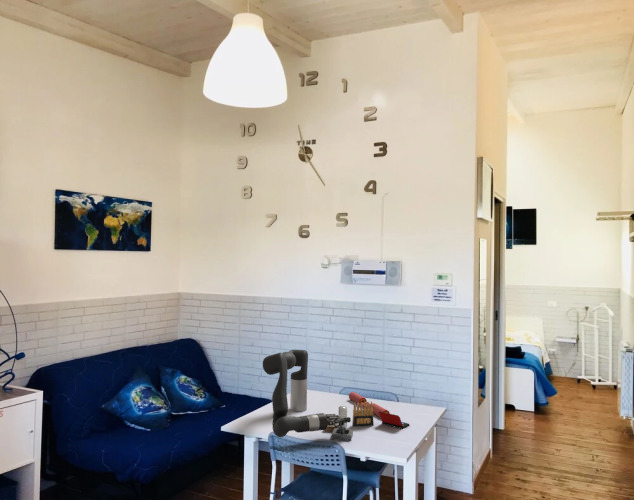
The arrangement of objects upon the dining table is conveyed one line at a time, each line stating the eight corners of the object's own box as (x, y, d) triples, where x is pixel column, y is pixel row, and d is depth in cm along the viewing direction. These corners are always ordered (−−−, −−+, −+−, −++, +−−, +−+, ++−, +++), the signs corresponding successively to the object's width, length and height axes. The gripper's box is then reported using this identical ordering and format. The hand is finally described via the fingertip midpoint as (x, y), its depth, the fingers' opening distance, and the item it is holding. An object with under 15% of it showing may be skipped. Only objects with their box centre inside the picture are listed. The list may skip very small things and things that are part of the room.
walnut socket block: (327, 425, 273) (327, 420, 273) (345, 427, 271) (345, 422, 271) (324, 431, 264) (324, 426, 264) (343, 432, 262) (343, 427, 262)
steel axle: (338, 435, 258) (339, 405, 258) (347, 435, 258) (347, 406, 258) (337, 438, 254) (338, 408, 255) (346, 438, 254) (346, 408, 254)
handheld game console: (410, 426, 275) (410, 411, 275) (398, 431, 267) (399, 415, 267) (389, 421, 283) (389, 406, 283) (377, 425, 275) (378, 411, 275)
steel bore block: (334, 433, 261) (334, 428, 261) (352, 434, 260) (353, 429, 260) (331, 439, 252) (331, 434, 252) (350, 440, 251) (351, 435, 251)
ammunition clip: (353, 426, 272) (353, 402, 272) (352, 425, 274) (352, 401, 274) (373, 425, 274) (373, 401, 275) (372, 424, 276) (372, 400, 276)
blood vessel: (389, 419, 287) (390, 409, 287) (381, 420, 285) (381, 410, 285) (356, 399, 326) (356, 391, 326) (348, 400, 324) (348, 392, 325)
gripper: (322, 418, 244) (355, 414, 251) (309, 410, 256) (341, 406, 264) (321, 435, 243) (355, 430, 251) (308, 426, 256) (340, 422, 264)
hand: (347, 418), depth 257 cm, fingers closed on steel axle, 4 cm apart
